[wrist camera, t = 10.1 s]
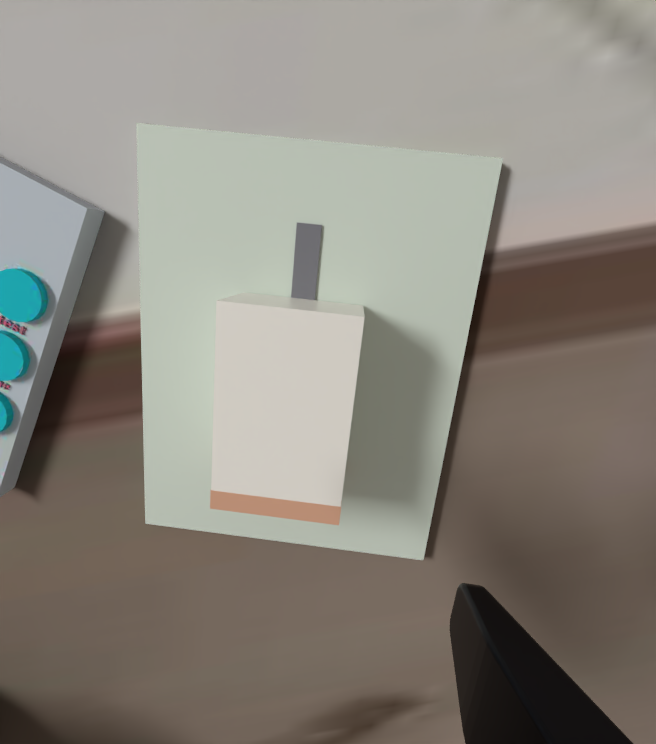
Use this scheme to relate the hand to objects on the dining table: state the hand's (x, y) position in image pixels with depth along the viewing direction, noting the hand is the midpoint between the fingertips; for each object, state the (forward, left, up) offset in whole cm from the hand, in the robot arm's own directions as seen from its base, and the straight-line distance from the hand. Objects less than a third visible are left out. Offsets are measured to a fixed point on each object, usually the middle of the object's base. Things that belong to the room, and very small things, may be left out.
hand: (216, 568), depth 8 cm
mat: (+1, 0, -12) cm, 12 cm away
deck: (0, 0, -11) cm, 11 cm away
